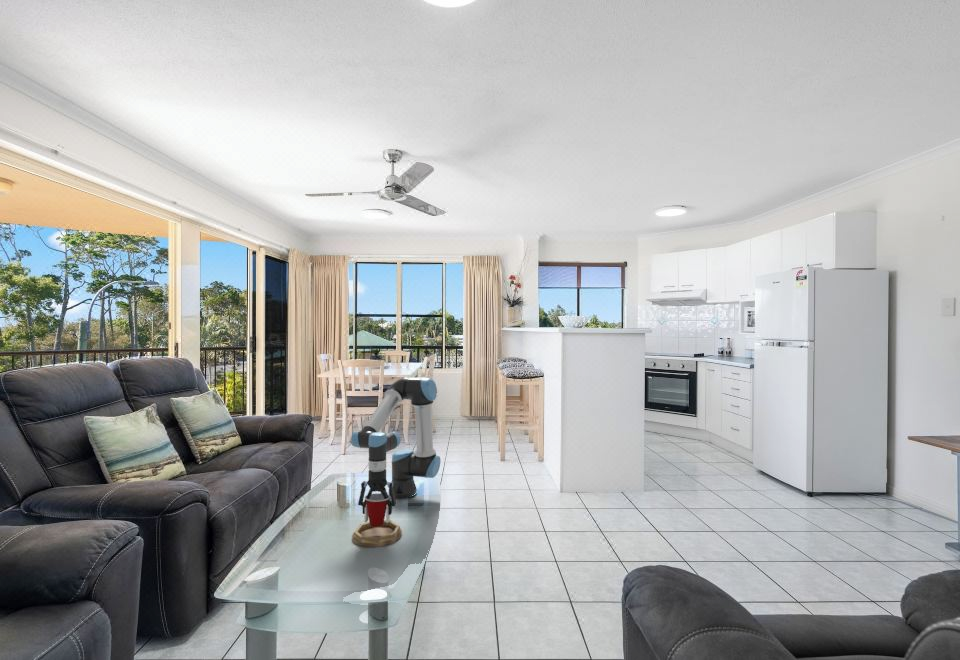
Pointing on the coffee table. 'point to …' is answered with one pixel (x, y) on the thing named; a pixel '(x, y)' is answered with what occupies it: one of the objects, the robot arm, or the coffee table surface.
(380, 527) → the ring base
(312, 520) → the coffee table surface
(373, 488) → the robot arm
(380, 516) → the plastic cup
